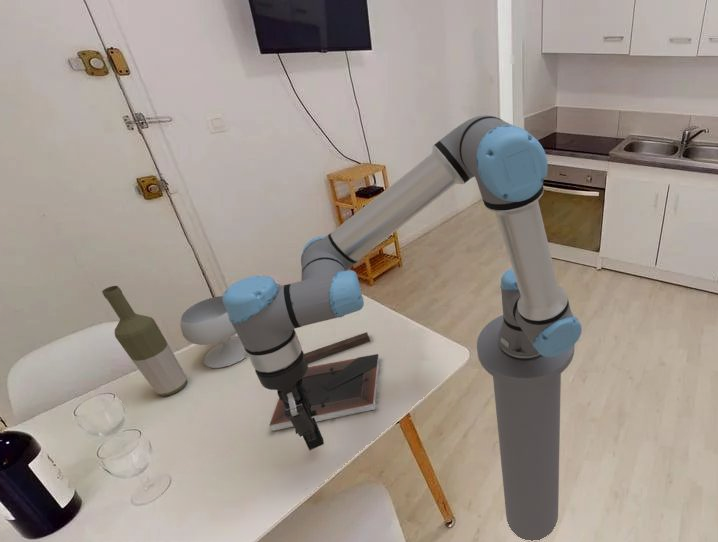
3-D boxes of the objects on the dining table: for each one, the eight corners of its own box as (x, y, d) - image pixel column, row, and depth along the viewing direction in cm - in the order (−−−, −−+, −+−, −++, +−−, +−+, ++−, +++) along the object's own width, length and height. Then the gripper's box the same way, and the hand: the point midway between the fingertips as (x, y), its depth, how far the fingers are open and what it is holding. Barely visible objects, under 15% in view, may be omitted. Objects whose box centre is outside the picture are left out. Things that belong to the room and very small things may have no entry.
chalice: (201, 348, 114) (177, 305, 107) (258, 329, 121) (239, 287, 113) (199, 379, 104) (172, 334, 96) (261, 357, 110) (241, 313, 103)
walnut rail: (368, 337, 116) (367, 331, 115) (370, 341, 115) (368, 335, 114) (273, 370, 106) (271, 365, 105) (273, 375, 104) (271, 369, 103)
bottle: (195, 384, 103) (136, 285, 88) (162, 403, 98) (93, 302, 83) (183, 372, 106) (125, 276, 91) (151, 391, 101) (83, 292, 86)
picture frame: (379, 360, 108) (291, 377, 104) (378, 353, 107) (288, 369, 103) (375, 410, 94) (272, 432, 90) (372, 403, 93) (269, 424, 89)
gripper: (254, 344, 74) (293, 428, 86) (253, 393, 64) (298, 481, 76) (299, 330, 77) (331, 413, 89) (305, 374, 68) (340, 461, 79)
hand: (316, 444), depth 82 cm, fingers closed
